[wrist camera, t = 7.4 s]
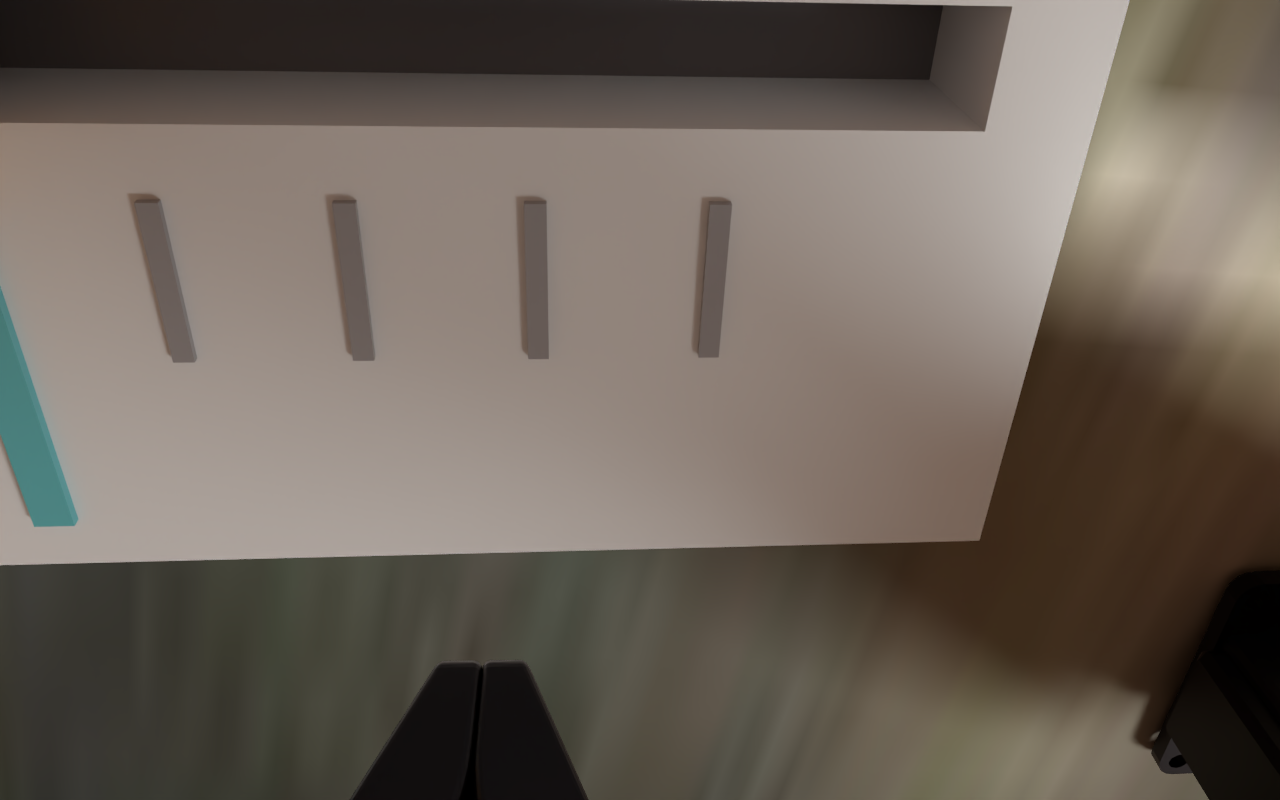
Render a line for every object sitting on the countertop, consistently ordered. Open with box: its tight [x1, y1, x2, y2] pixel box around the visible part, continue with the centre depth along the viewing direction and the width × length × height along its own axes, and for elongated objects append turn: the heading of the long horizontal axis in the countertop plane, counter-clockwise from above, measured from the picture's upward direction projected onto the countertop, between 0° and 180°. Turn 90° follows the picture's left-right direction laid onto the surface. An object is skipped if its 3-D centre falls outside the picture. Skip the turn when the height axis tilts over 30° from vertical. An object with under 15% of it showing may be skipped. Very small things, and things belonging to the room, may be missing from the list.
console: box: [0, 0, 1130, 565], centre depth 14 cm, size 20×16×3 cm
